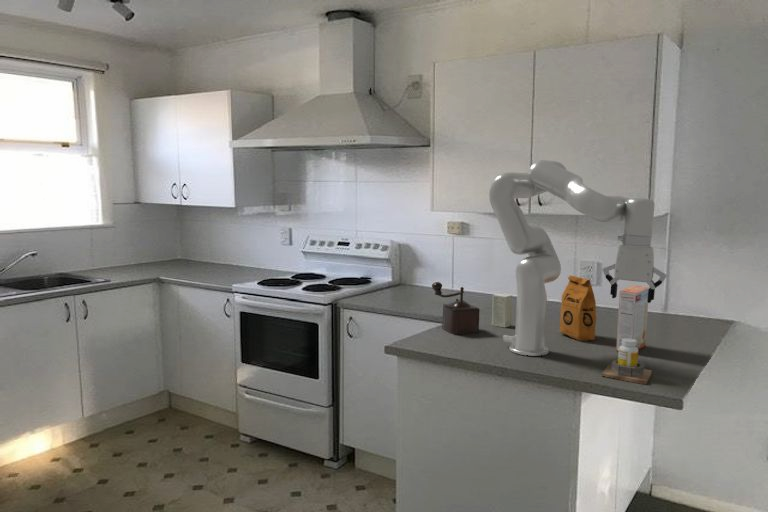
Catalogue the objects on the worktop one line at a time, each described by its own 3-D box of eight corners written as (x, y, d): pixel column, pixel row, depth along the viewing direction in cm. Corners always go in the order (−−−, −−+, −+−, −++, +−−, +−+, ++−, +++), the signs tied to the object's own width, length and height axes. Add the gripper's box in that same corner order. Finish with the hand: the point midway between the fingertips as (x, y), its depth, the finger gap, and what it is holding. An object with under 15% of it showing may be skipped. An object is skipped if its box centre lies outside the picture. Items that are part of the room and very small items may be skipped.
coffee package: (575, 342, 217) (579, 280, 215) (555, 333, 229) (559, 275, 226) (599, 340, 220) (603, 280, 218) (578, 332, 232) (582, 274, 229)
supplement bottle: (617, 373, 180) (620, 341, 179) (616, 368, 185) (618, 336, 184) (637, 375, 178) (640, 343, 177) (635, 370, 183) (638, 338, 182)
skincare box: (510, 326, 239) (512, 295, 237) (504, 328, 236) (506, 296, 234) (497, 323, 243) (498, 292, 241) (490, 325, 240) (492, 294, 238)
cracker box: (628, 343, 218) (632, 284, 216) (645, 346, 215) (650, 287, 212) (614, 351, 208) (619, 289, 205) (632, 354, 204) (637, 292, 201)
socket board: (601, 376, 179) (602, 365, 179) (609, 366, 190) (610, 355, 189) (646, 384, 174) (647, 372, 173) (651, 373, 184) (652, 362, 183)
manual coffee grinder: (464, 326, 237) (467, 279, 234) (479, 333, 226) (481, 284, 224) (428, 328, 231) (430, 281, 229) (441, 336, 221) (443, 286, 219)
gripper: (602, 239, 178) (598, 297, 181) (668, 245, 170) (662, 306, 172) (608, 237, 185) (603, 294, 187) (671, 243, 176) (665, 301, 178)
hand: (631, 299), depth 180 cm, fingers open, 9 cm apart
